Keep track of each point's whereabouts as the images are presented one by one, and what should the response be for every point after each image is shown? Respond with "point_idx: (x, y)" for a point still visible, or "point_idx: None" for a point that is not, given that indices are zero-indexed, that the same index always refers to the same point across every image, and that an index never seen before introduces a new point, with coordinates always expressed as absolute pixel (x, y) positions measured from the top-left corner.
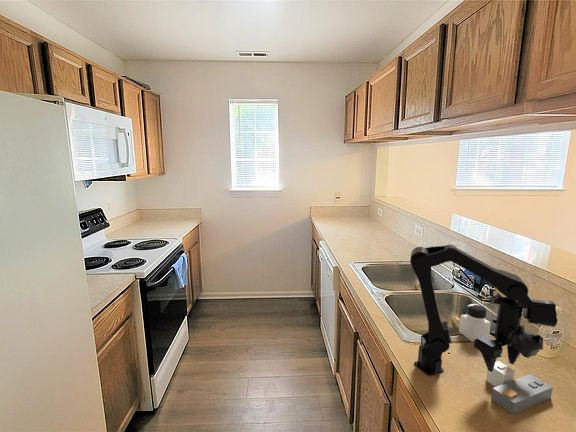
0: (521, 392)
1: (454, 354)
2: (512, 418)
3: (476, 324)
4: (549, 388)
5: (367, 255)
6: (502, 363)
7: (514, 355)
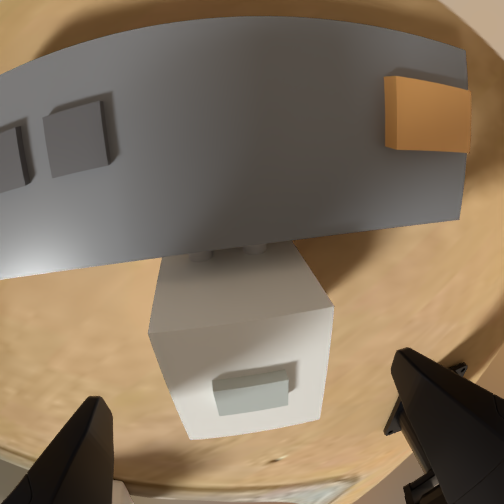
0: (309, 85)
1: (258, 457)
2: None
3: None
4: None
5: None
6: (183, 419)
7: (78, 484)
